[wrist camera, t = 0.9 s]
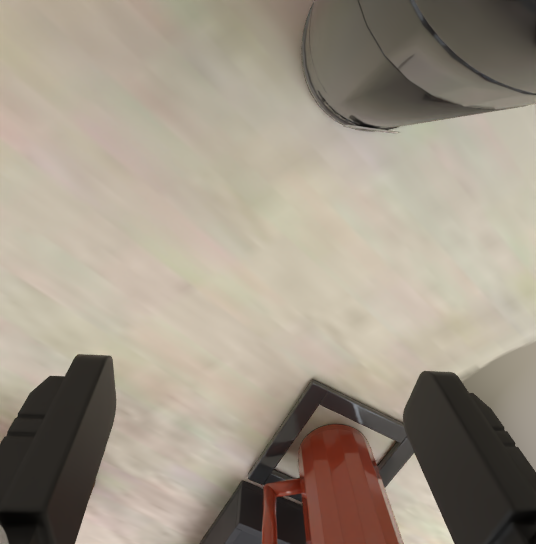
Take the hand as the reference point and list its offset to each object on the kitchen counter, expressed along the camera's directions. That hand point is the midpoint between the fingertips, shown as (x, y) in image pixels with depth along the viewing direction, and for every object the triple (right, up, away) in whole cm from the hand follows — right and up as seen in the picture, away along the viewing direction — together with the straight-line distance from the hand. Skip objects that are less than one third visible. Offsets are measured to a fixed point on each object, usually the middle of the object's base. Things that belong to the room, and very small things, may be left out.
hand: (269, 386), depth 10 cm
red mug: (+4, -13, +23) cm, 27 cm away
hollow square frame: (+6, -13, +23) cm, 27 cm away
